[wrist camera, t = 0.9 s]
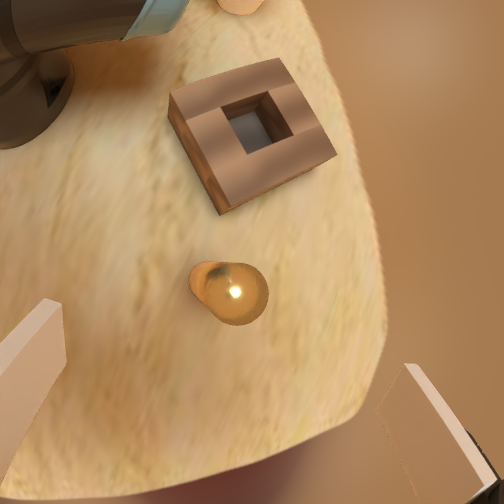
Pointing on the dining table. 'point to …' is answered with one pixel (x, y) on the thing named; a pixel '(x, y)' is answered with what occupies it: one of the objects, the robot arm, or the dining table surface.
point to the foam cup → (240, 6)
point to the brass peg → (230, 290)
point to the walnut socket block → (247, 131)
